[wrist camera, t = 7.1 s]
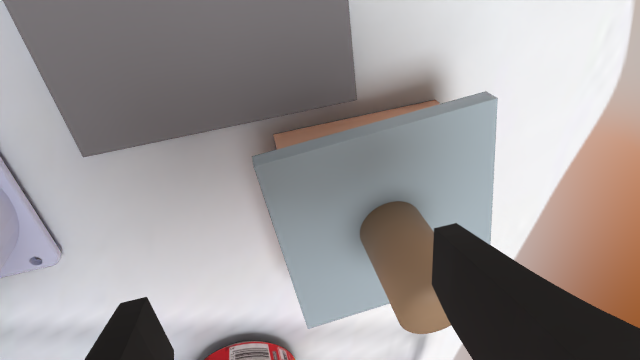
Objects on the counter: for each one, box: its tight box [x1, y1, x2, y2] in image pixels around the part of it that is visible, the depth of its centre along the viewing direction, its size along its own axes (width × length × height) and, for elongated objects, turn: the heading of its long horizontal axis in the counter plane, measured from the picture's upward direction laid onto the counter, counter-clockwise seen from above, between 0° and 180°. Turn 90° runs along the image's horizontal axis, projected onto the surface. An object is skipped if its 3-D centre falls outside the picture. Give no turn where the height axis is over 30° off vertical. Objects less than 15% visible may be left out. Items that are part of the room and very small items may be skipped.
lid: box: [252, 91, 498, 334], centre depth 16 cm, size 10×10×5 cm
